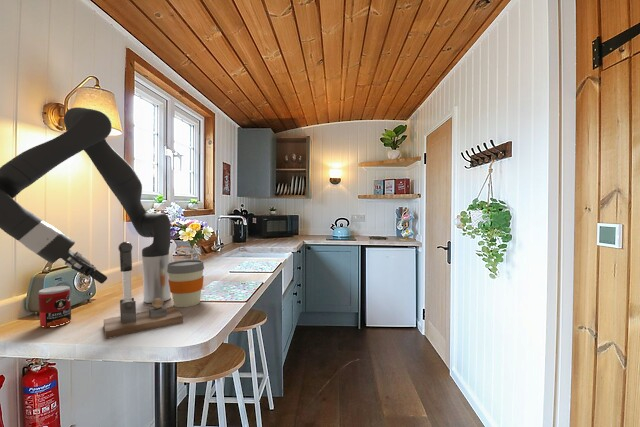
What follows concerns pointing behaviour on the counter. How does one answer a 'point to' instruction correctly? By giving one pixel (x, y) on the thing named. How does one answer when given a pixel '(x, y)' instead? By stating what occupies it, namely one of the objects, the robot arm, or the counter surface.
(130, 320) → the nutcracker bench
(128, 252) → the lever
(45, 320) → the canned food
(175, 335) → the counter surface
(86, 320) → the counter surface
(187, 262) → the reusable coffee cup
